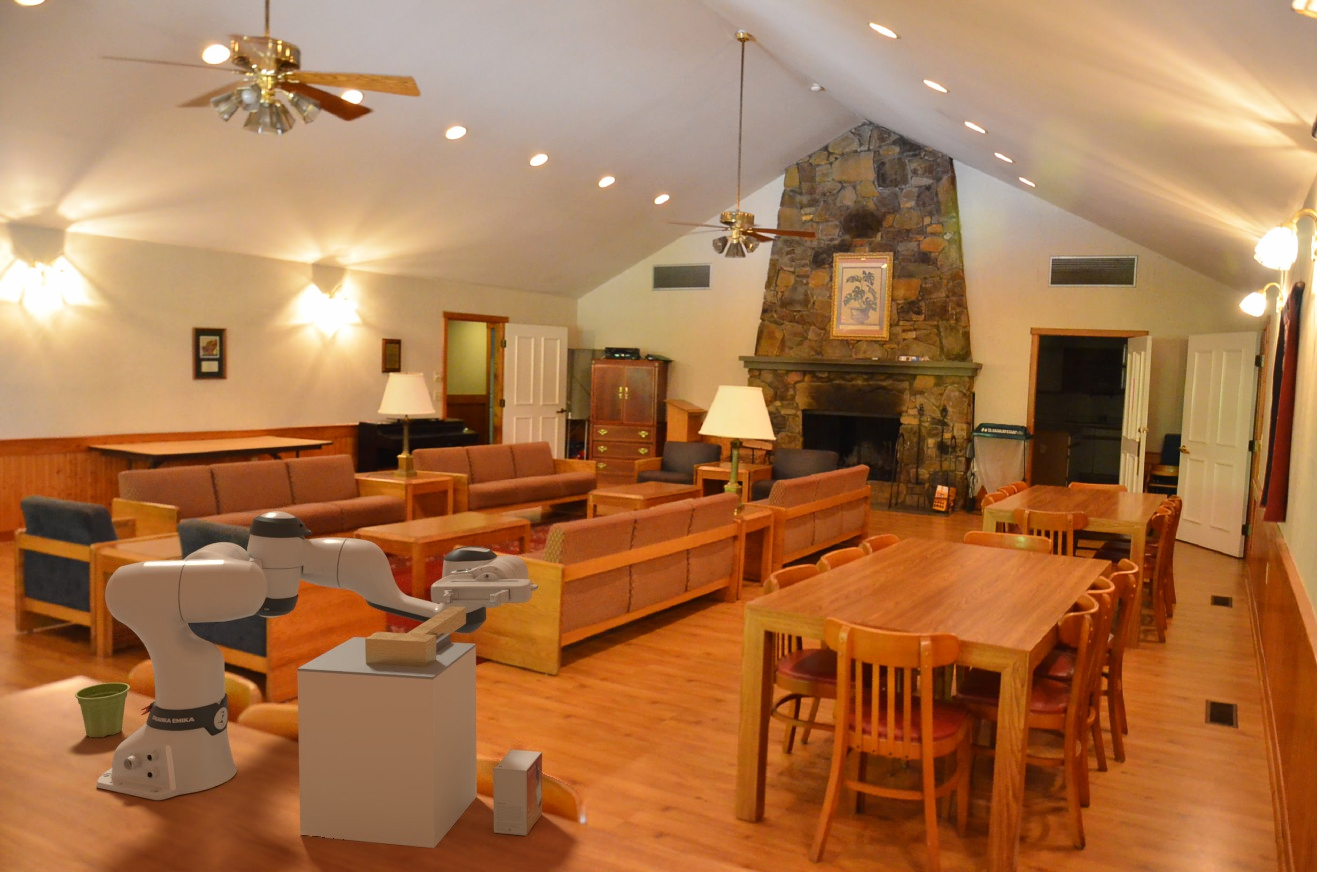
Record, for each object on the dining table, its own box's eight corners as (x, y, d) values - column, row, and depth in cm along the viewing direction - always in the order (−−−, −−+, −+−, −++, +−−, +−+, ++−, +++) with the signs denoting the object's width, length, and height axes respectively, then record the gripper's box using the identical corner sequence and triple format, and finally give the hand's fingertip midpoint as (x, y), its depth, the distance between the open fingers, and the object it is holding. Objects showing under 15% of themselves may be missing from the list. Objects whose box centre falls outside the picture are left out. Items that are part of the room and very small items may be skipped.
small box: (526, 837, 148) (526, 770, 147) (492, 833, 149) (492, 767, 149) (543, 814, 156) (543, 751, 155) (510, 810, 157) (510, 748, 156)
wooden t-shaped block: (365, 663, 149) (365, 638, 149) (432, 621, 175) (431, 600, 174) (426, 667, 147) (425, 641, 147) (484, 624, 173) (484, 602, 173)
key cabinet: (300, 835, 148) (297, 658, 146) (356, 786, 166) (353, 628, 164) (434, 847, 144) (432, 666, 143) (476, 796, 162) (475, 634, 160)
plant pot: (113, 741, 185) (112, 698, 185) (65, 741, 185) (64, 697, 185) (140, 724, 194) (139, 682, 194) (94, 723, 195) (93, 682, 194)
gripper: (541, 600, 197) (522, 615, 184) (446, 600, 200) (421, 615, 187) (540, 569, 197) (521, 583, 184) (445, 570, 200) (419, 583, 186)
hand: (469, 599), depth 185 cm, fingers open, 8 cm apart
